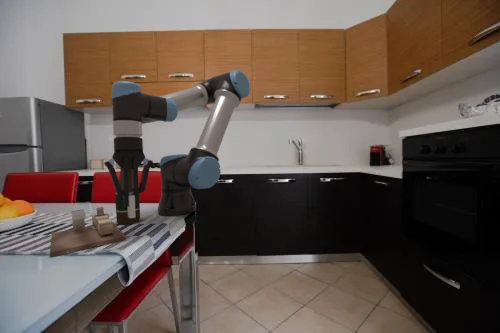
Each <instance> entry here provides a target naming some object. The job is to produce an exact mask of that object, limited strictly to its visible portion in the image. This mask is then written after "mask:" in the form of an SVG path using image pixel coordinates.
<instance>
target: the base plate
mask: <svg viewBox="0 0 500 333" xmlns="http://www.w3.org/2000/svg"><path fill="white" fill-rule="evenodd" d="M112 222H113V233H109V234H104V235H100V233H99V231H98V230H93V229H92V226H93V225H88V226H85V229H79V230H74V231H73V228H72V229H68V230H62V231H55V232H51V240H50V250H49V254H50V258H53V257H57V256H58V257H59V256H62V255H67V254H68V253H67V252H72V253H74V252H73V251H76V252H80V250H81V251H85V250H89V249H92V248H91V247H94V248H96V247H95V246H98V247H101V246H100V245H103V246H105V245H104V244H107V245H110V244H109V243H112V244H115V243H114V242H116V243H119V242H118V241H120V242H124V240H125V241H126V234H124V232H123V231H121V229H120V228H119V227H118V226H117V225H116V223H115V222H114V221H112ZM66 253H67V254H66Z"/></svg>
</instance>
